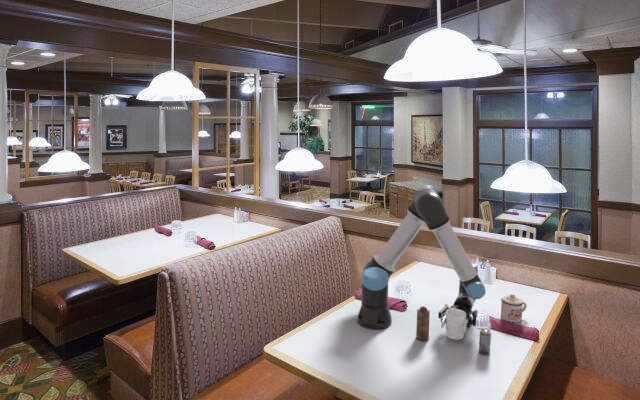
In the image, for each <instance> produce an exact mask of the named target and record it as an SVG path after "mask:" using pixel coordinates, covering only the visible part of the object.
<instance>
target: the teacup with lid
mask: <svg viewBox="0 0 640 400" xmlns="http://www.w3.org/2000/svg"><path fill="white" fill-rule="evenodd" d="M500 307H501V308H500V318H501V319H502V320H503V321H505V320H506V321H505V322H507V321H510V322H509V323H512V322H514V324H517V323H520V322H522V318H523V313H524V312H525V311H526V310H527V307H528V306H527V303H525V301H524V300H523V299H522V298H520V297H518V296H516V294H515V293H510V294H509V295H504V296H502V297H501V305H500Z"/></svg>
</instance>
